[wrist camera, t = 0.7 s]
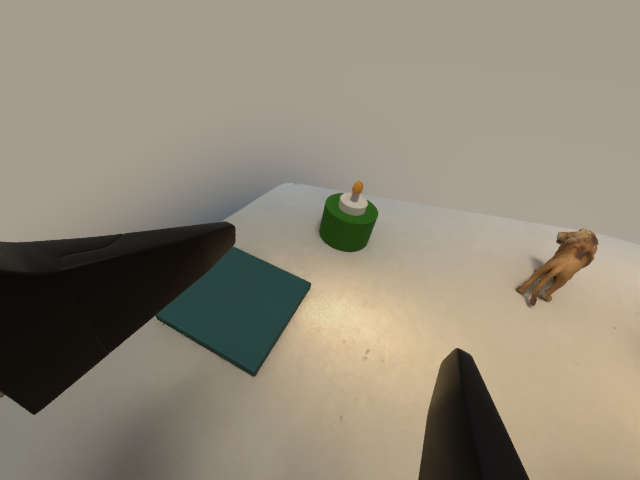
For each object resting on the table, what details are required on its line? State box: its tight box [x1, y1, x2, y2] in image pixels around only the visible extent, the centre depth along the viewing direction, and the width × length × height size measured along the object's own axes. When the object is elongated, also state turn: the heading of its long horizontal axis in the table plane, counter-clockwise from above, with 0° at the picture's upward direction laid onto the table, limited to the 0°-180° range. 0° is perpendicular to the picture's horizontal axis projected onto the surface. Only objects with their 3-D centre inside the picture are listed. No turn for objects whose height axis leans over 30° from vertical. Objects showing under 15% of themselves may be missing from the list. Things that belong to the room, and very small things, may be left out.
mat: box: [155, 247, 311, 376], centre depth 28 cm, size 12×12×1 cm
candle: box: [320, 181, 378, 252], centre depth 38 cm, size 8×8×10 cm
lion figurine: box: [517, 229, 598, 306], centre depth 37 cm, size 15×5×9 cm, turn 133°
